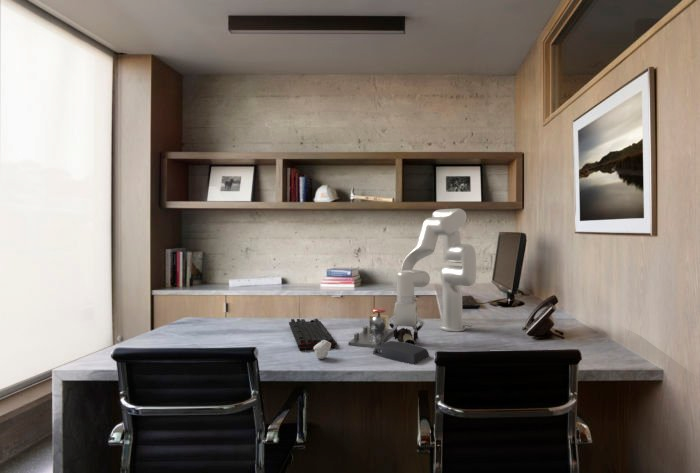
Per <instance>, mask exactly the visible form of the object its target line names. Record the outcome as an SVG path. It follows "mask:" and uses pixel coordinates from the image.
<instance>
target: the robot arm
mask: <svg viewBox="0 0 700 473" xmlns="http://www.w3.org/2000/svg"><path fill="white" fill-rule="evenodd" d="M466 222H467V214H466V211H465V210H464V209H462V208H444V209H443V208H441V209H437V210H435V211H433V212H432V213H431V217H427V218H426V219H424V220H423V222H422V225H421V228H420V231H419V234H418V238H417V241H416V245H415V247H414V248H413V249H412V250H411V251H410V252H409V253H408V254H407V255H406V256H405V258H404V260H403V261H402V264H401V267H400V270H399V272H397V273H396V302H395V303H394V309H393V315H392V316H391V317H388V320H387V322H388V326H389V327H390V329H393V333H392V334H393V337H394V341H397V332H398V330H399V329H398V327H399V326H401V327H411V328H412V329H413V339H414V341H415V342H416V341H417V339H419V338H418V337H419V331H420V330H421V329H422V327H423V326H424V325H425V321H423V320H422V319H421V318H420V317H419V316H418V308H417V307H418V306H417V303H416V302H418V297H415V288H425V287H427V286H428V285H429V284H430V281H431V276H430V275H429V273H428V272H427V271H424V270H420V269H414V267H415V265H416V264H417V263H418V262H419V261H421V260H423V259H425V258H426V257H429V256H430V255H432V254H434V253H435V249H436V246H437V241H438V238H439V236H442V255H443V259H444V261H445V262H446V263H447V262H448V263H450V264H449V265H445V266H443V267H442V268H441V270H440V273H439V276H440V280H441V281H440V282H441V289H442V323H441V324H440V325H439V329H440V330H442V331H445V332H446V331H447V332H454V333H455V332H456V333H457V332H464V331H465V330H466V329H467V328H466V327H470V328H472V326H473V323H472V322H469V321H464V319H463V291H462V289H461V287H462V286H463V287H472V286H473V285H474V284H475V283H476V280H477V255H476V250H475V247H474V246H473V245H472V244H469V243H461V242H462V241H461V232H460V230H459V229H460V228H462V227H463V226H464V225H465V224H466ZM451 263H453V264H462V265H453V264H451ZM460 286H461V287H460ZM392 321H393V322H392ZM418 323H419V326H417V325H418Z"/></svg>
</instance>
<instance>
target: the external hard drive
mask: <svg viewBox="0 0 700 473" xmlns="http://www.w3.org/2000/svg"><path fill="white" fill-rule="evenodd" d="M372 355H375V356H378V357H380V358H384V359H386V360H387V359H388V360H392V361H395V362H399V363H403V362H404V363H405V364H408V363H409V364H408V365H413V364H414V365H416V364H418V363H420V362H423V361H425V360H426V358H427V359H429V358H430V353H429V351H428V349H427V348H425V347H422V346H419V345H417V344H416V345H413V344H409V343H404V342H399V341H398V340H389V341H386V342H383V343H382V344H380V345H378V346H375V348H374V349H373V351H372ZM428 357H429V358H428ZM404 363H403V364H404ZM415 363H416V364H415Z"/></svg>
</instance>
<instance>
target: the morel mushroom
mask: <svg viewBox="0 0 700 473" xmlns="http://www.w3.org/2000/svg"><path fill="white" fill-rule="evenodd" d="M397 330H398V332H397V339H396V341H397V342H404V343H409V344H413V345H417V344H416V341H414V336H413V334H412V330H411V329H408V328H405V327H402V328H400V329H397Z"/></svg>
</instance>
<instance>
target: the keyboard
mask: <svg viewBox="0 0 700 473" xmlns="http://www.w3.org/2000/svg"><path fill="white" fill-rule="evenodd" d="M288 326H289V328H290V331H291V333H292V335H293V338H294V341H295V343H296V345H297V348H298V351H300V352H301V351H304V352H305V351H314V349H313V348H314V346H315V345H316V344H318V343H319V342H321V341H322V340H326V341H328V342H330V343H331V348H330V349H335V347H336V346H338V342H337V341H336V340H335V339H334V337H333V336H332V335H331V333H330V332H329V330H328V329H327V328H326V327H325V325H324V324H323V323H322V321H320V320H319V319H318V318H314V319H310V321H308V320H307V321H306V319H305V318H304V319H303V318H297V319H296V320H295V319H294V318H291V319H290V321H288Z"/></svg>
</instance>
